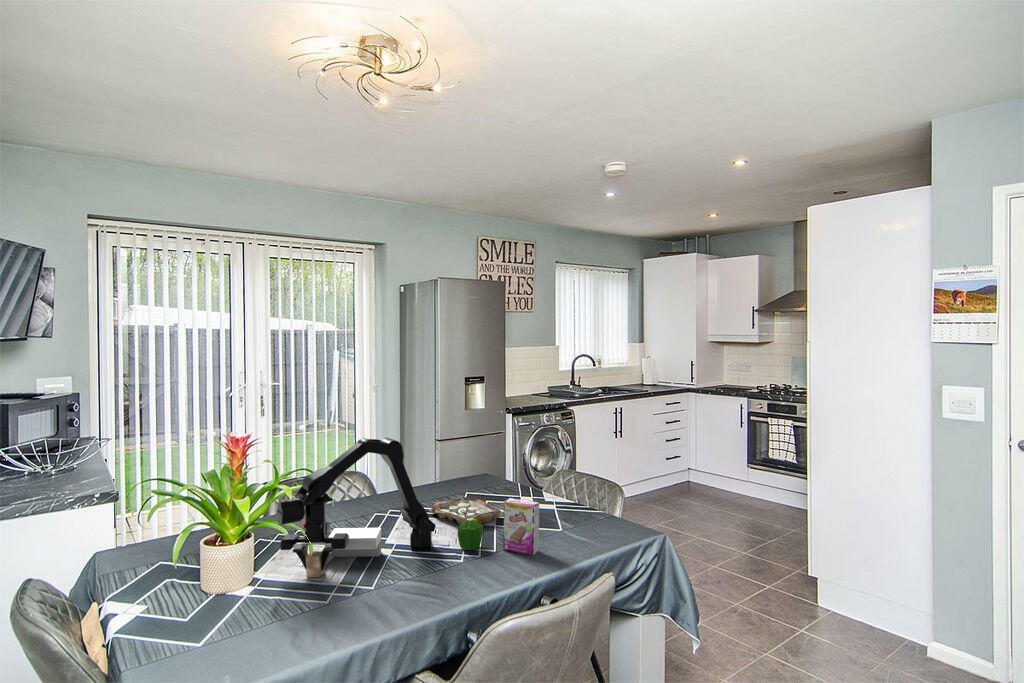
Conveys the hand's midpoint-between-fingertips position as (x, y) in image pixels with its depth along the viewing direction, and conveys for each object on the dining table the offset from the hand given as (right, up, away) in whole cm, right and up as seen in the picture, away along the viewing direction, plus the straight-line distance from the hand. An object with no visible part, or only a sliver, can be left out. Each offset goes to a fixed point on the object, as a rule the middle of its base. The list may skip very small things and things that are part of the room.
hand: (315, 570), depth 168 cm
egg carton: (+40, -1, +53) cm, 66 cm away
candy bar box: (+61, -2, +20) cm, 64 cm away
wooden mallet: (+1, -1, +6) cm, 6 cm away
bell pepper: (+44, -2, +22) cm, 49 cm away
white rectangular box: (+8, -1, +13) cm, 15 cm away
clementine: (-13, -1, +33) cm, 36 cm away
